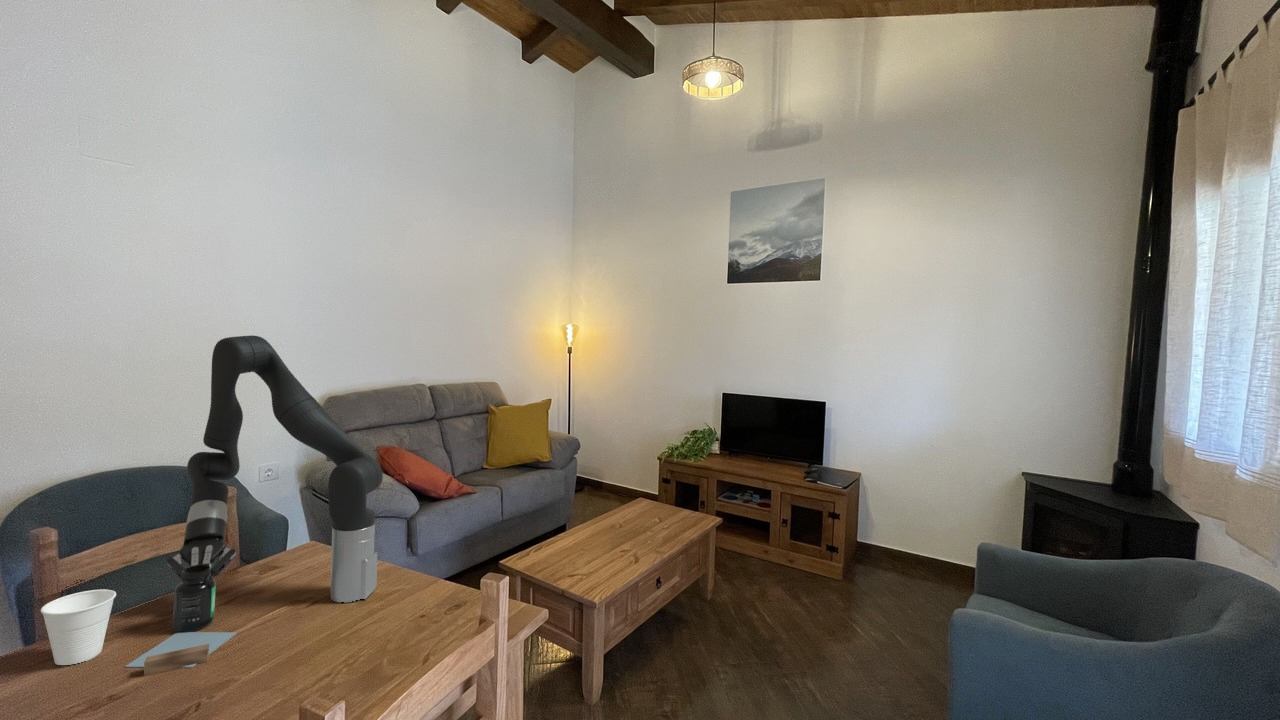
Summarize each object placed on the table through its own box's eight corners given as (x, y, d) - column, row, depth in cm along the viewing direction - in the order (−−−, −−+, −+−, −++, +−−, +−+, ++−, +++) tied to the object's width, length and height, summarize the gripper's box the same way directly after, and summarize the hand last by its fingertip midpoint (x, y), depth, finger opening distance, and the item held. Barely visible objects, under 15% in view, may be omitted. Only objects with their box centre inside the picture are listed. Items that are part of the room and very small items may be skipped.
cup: (65, 677, 95) (66, 617, 95) (24, 668, 97) (25, 609, 97) (128, 647, 105) (130, 592, 104) (90, 640, 107) (91, 586, 106)
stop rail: (208, 656, 103) (209, 643, 103) (207, 661, 101) (207, 648, 101) (146, 670, 98) (146, 657, 98) (143, 676, 96) (144, 662, 96)
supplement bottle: (222, 619, 116) (224, 565, 116) (190, 635, 109) (193, 577, 110) (196, 615, 117) (199, 561, 118) (163, 630, 111) (166, 573, 111)
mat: (237, 633, 111) (237, 632, 111) (191, 667, 99) (192, 666, 99) (177, 632, 110) (177, 632, 110) (124, 667, 98) (124, 666, 98)
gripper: (168, 520, 121) (155, 595, 111) (240, 512, 128) (234, 581, 118) (172, 535, 126) (160, 609, 115) (241, 527, 133) (235, 595, 123)
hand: (197, 595), depth 117 cm, fingers closed
